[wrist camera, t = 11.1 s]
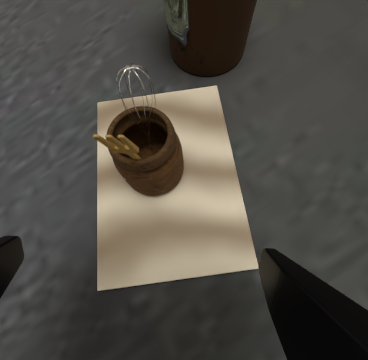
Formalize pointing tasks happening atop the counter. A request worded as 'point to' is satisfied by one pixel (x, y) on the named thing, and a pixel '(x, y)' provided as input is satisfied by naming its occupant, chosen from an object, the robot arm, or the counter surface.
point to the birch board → (173, 202)
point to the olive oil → (208, 33)
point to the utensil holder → (145, 147)
